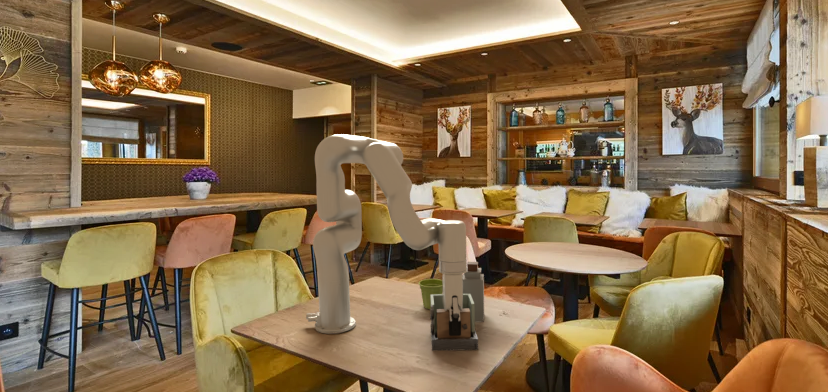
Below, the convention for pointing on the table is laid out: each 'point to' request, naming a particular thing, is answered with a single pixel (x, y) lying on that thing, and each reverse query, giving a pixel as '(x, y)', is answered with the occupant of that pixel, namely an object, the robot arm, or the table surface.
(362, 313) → the table surface
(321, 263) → the robot arm
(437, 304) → the box
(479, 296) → the perfume bottle
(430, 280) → the plant pot
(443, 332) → the door
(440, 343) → the grey brown open box
